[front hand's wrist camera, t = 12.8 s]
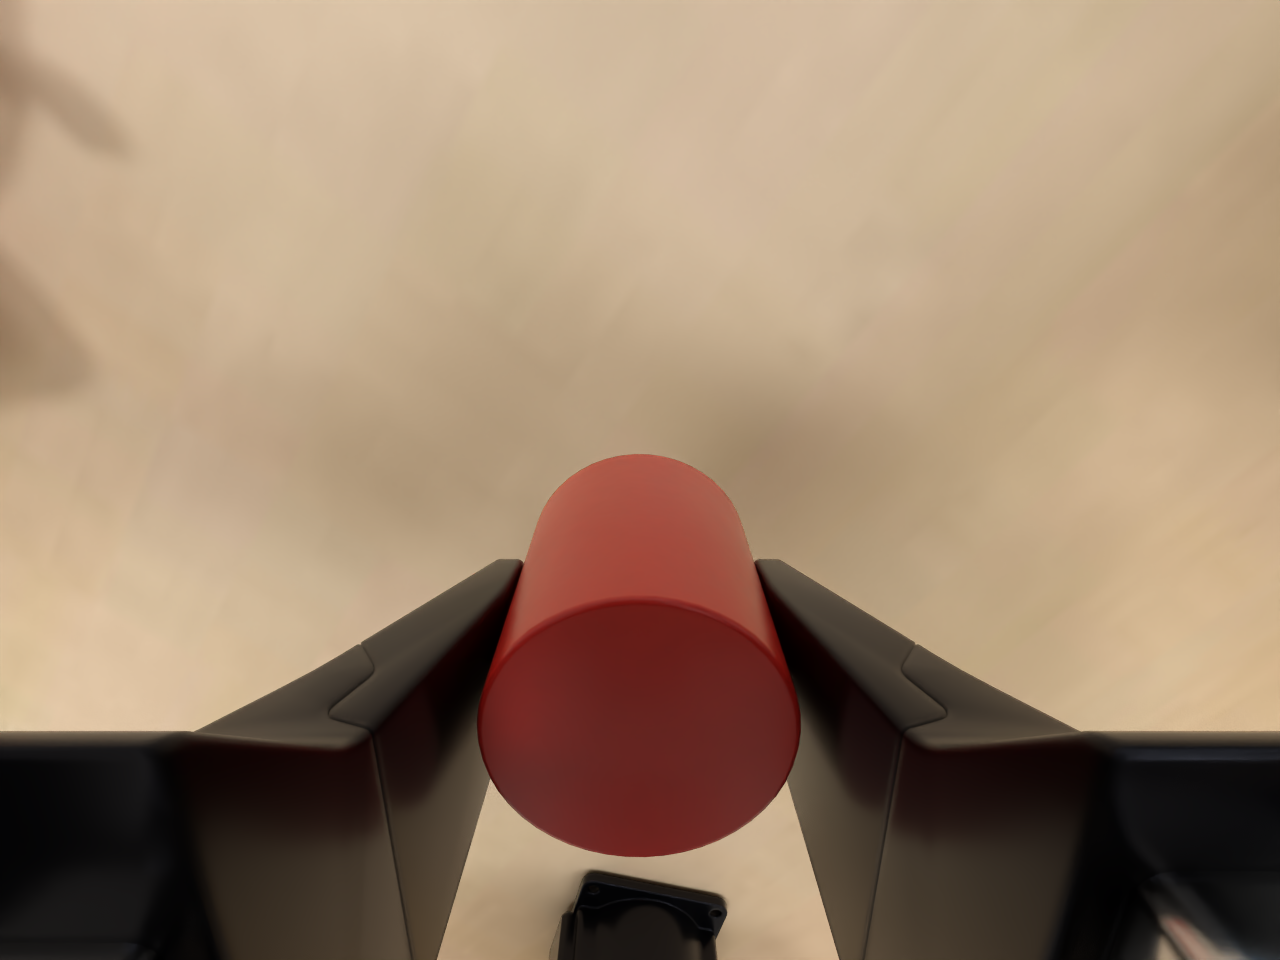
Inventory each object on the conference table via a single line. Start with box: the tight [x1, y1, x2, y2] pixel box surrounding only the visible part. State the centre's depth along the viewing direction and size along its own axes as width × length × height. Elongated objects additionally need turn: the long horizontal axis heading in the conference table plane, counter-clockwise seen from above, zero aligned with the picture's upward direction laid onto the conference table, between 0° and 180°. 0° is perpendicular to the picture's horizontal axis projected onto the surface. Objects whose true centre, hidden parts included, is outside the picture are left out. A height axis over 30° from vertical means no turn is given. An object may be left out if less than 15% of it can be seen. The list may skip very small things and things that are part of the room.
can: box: [477, 454, 801, 857], centre depth 10 cm, size 4×4×5 cm
